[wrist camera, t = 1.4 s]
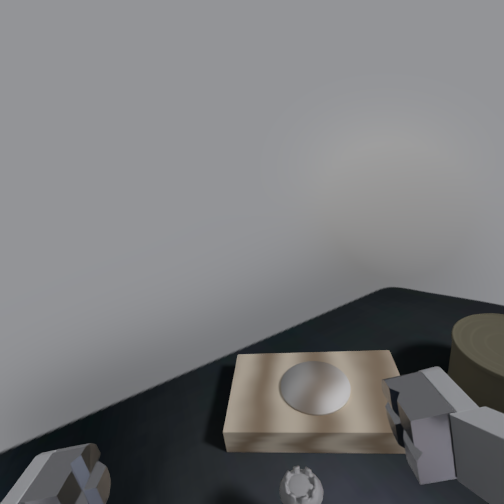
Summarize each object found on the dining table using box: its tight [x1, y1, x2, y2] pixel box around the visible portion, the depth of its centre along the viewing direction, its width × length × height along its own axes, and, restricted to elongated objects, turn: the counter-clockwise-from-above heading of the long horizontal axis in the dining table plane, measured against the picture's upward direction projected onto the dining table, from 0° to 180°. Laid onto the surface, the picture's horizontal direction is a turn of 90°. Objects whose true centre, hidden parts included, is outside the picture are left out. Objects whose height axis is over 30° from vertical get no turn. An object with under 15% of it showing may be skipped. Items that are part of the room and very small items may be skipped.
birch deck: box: [223, 350, 406, 454], centre depth 39 cm, size 20×12×3 cm, turn 85°
